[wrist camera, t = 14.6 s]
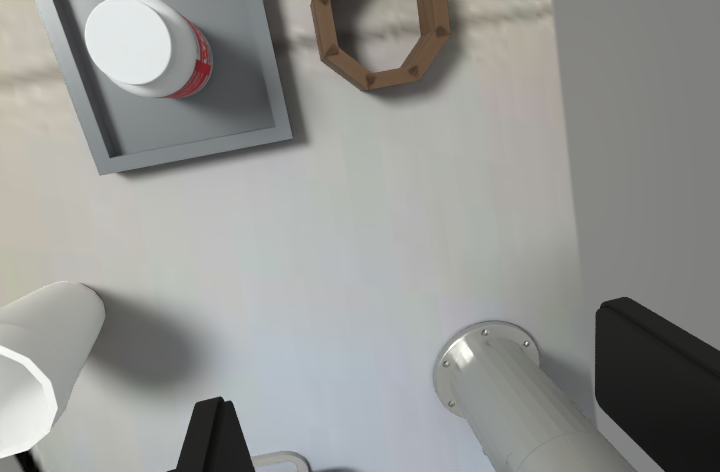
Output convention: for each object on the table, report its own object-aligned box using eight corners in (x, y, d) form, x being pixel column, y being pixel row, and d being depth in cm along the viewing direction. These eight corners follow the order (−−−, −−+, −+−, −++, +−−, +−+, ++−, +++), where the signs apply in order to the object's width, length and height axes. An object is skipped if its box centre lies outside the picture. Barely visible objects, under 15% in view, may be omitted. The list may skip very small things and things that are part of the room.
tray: (292, 135, 40) (292, 138, 37) (111, 170, 38) (99, 175, 36) (247, -68, 34) (245, -80, 32) (35, -38, 33) (16, -48, 31)
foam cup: (28, 250, 39) (-89, 320, 27) (135, 284, 42) (72, 363, 29) (2, 338, 41) (-118, 441, 29) (105, 366, 43) (35, 472, 31)
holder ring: (438, 76, 40) (454, 74, 36) (327, 96, 39) (331, 97, 35) (425, -55, 37) (440, -72, 33) (302, -36, 36) (304, -51, 32)
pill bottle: (230, 67, 36) (208, 56, 26) (173, 113, 37) (129, 120, 26) (175, -2, 34) (128, -44, 24) (116, 47, 34) (43, 27, 24)
